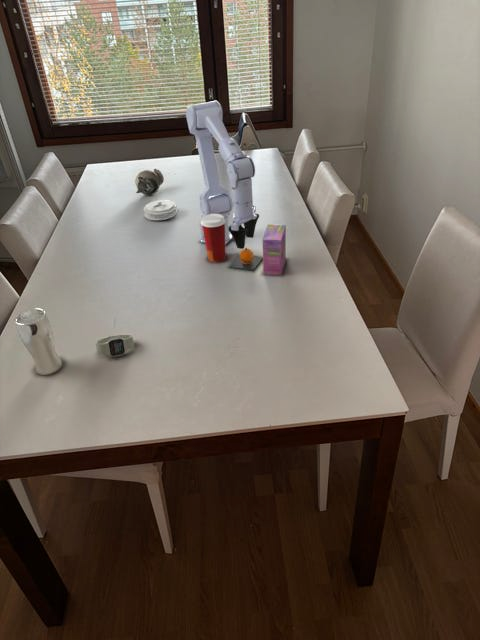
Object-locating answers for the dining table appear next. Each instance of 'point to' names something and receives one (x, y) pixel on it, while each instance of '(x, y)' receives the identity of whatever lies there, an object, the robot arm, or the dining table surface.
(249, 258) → the clementine
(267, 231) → the box
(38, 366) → the beer glass
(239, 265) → the felt pad
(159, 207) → the lid
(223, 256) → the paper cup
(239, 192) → the robot arm
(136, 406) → the dining table surface
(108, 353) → the wristwatch
